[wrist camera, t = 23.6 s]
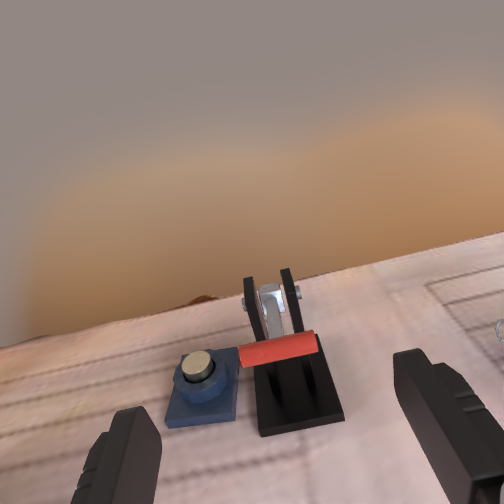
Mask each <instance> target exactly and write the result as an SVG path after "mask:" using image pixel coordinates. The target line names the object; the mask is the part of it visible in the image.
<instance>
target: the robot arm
mask: <svg viewBox="0 0 504 504" xmlns="http://www.w3.org/2000/svg"><path fill="white" fill-rule="evenodd" d="M393 368H394V388H395V392H396V396H397V399H398V401H399V404H400V406H401V408H402V410H403V412H404V414H405V416H406V418H407V420H408V422H409V424H410V426H411V428H412V430H413V431H414V433H415V435H416V437H417V439H418V441H419V443H420V445H421V447H422V449H423V451H424V453H425V455H426V457H427V459H428V461H429V463H430V465H431V467H432V469H433V470H434V472H435V474H436V476H437V478H438V480H439V482H440V484H441V486H442V488H443V490H444V492H445V494H446V496H447V498H448V500H449V502H450V504H504V430H503V429H502V427H501V426H500V425H499V424H498V422H497V421H496V420H495V418H494V417H493V416H492V414H491V413H490V412H489V410H488V409H486V408H485V405H484V404H483V403H482V401H481V400H480V399H479V397H478V396H477V395H475V393H474V391H473V390H472V388H471V387H470V386H469V384H468V383H467V382H466V380H465V379H464V378H463V376H462V375H461V374H459V373H458V372H456V371H455V370H454V369H452V368H451V367H449V366H448V365H447V364H445V363H444V362H443V363H439V364H434V365H432V364H431V362H430V361H429V359H428V358H427V357H426V355H425V354H424V352H423V351H422V350H421V349H419V348H416V349H412V350H407V351H402V352H397V353H394V354H393ZM161 454H162V441H161V436H160V434H159V432H158V430H157V428H156V427H155V425H154V423H153V422H152V420H151V418H150V417H149V415H148V413H147V412H146V410H145V408H144V407H143V406H138V407H134V408H129V409H124V410H119V411H117V412H116V413H115V415H114V418H113V420H112V423H111V427H110V430H109V431H108V432H103V433H101V435H100V436H99V438H98V439H97V441H96V442H95V444H94V445H93V447H92V448H91V449H90V451H89V454H88V457H87V459H86V462H85V465H84V468H83V473H82V474H81V476H80V479H79V482H78V484H77V490H75V493H74V495H73V498H72V501H71V504H153V501H154V495H155V490H156V484H157V478H158V472H159V466H160V461H161Z"/></svg>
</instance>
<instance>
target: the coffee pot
mask: <svg viewBox="0 0 504 504" xmlns="http://www.w3.org/2000/svg"><path fill="white" fill-rule="evenodd" d="M503 321H504V319H501V320H500V321H498V322H497V325H496V328H495V329H496V333H497V337H498V338H499V340H500V342H501V343H502V344H504V341H503V340H502V338H501V336H500V333H499V326H500V323H502V322H503Z"/></svg>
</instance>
